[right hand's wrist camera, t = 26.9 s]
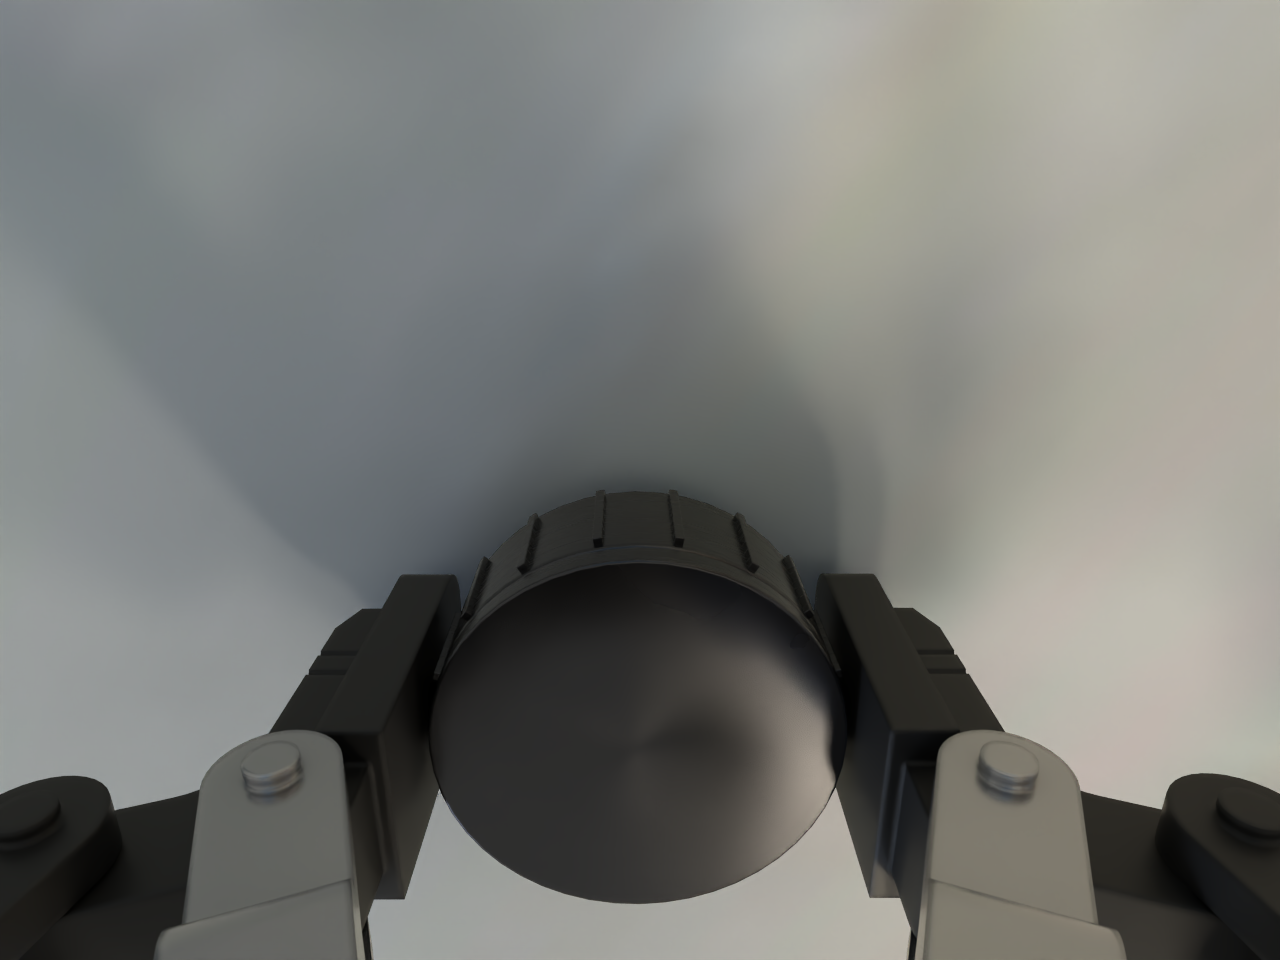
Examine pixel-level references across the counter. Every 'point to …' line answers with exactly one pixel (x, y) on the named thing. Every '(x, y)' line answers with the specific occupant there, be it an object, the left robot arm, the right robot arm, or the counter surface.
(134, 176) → the counter surface
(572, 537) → the lid
